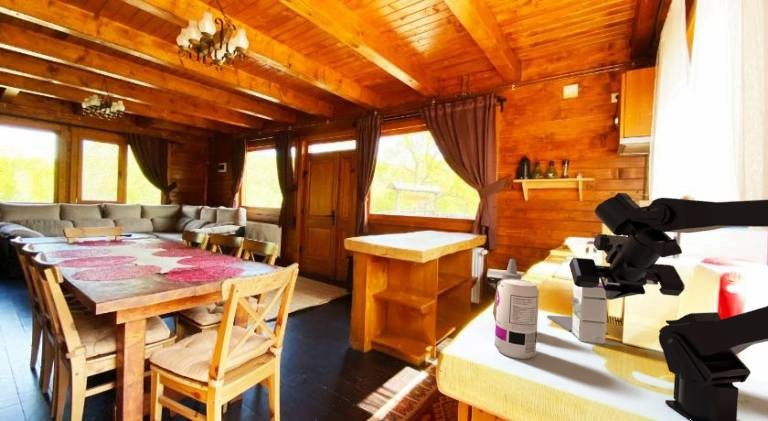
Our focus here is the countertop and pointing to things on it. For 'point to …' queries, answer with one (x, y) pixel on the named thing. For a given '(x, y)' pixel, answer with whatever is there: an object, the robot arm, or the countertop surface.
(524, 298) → the supplement can
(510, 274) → the squeeze bottle
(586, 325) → the syrup box
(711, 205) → the robot arm
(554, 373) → the countertop surface
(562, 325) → the slate mat
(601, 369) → the countertop surface
